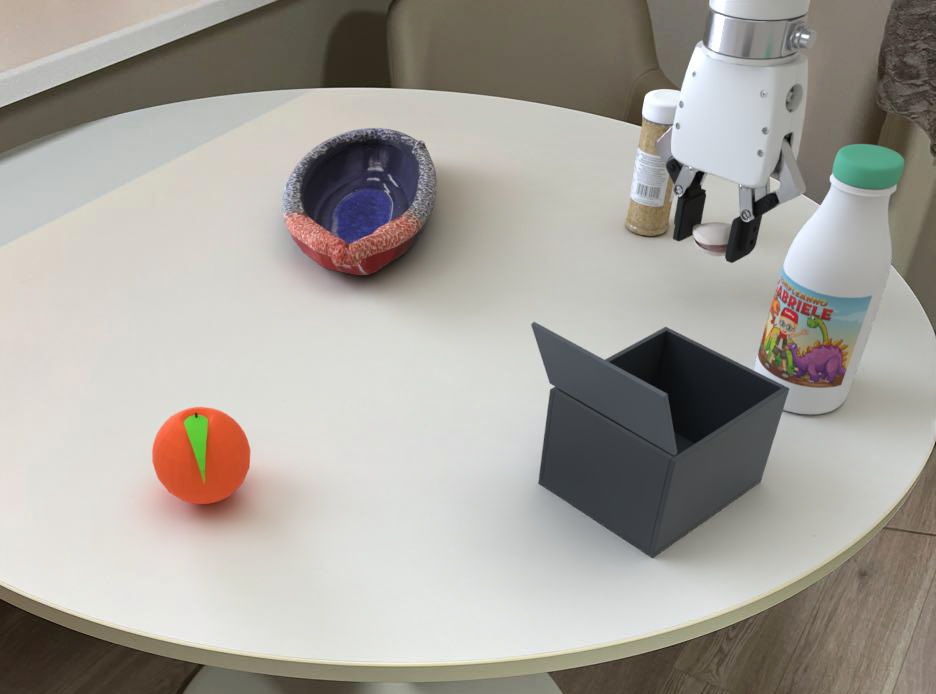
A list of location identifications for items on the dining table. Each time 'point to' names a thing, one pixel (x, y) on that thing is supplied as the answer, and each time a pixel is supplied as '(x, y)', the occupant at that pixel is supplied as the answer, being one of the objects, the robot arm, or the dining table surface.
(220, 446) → the clementine
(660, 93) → the sprinkles bottle
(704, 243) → the macaroon
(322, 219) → the dish
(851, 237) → the milk bottle
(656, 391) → the flap
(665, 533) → the bin
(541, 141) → the dining table surface
